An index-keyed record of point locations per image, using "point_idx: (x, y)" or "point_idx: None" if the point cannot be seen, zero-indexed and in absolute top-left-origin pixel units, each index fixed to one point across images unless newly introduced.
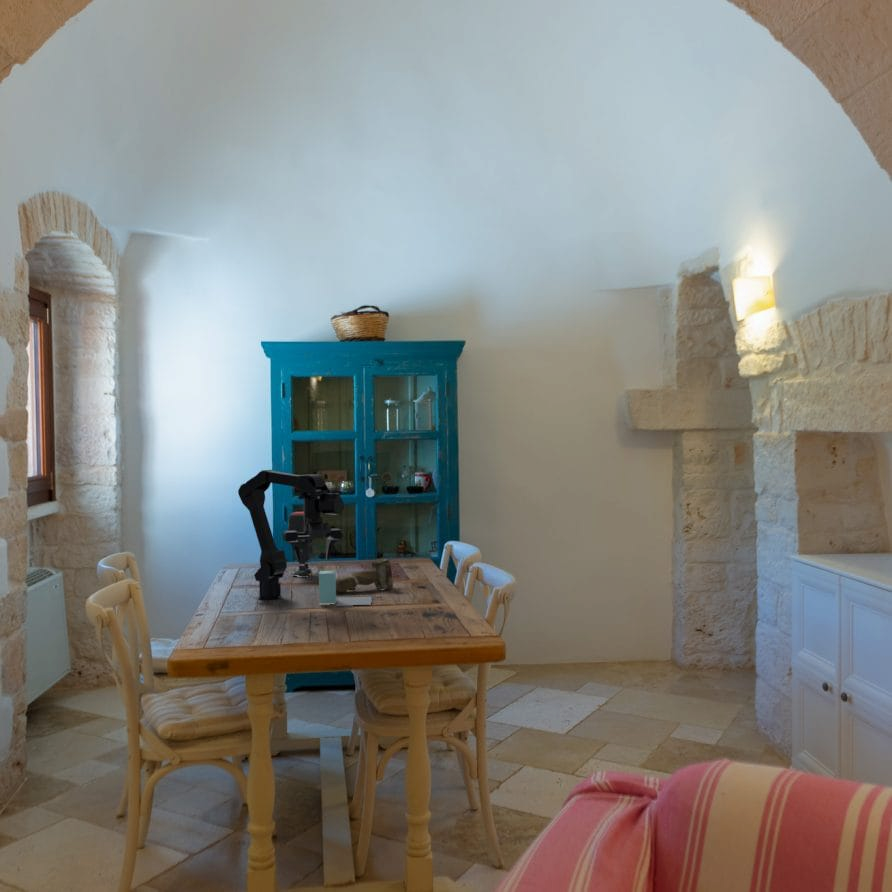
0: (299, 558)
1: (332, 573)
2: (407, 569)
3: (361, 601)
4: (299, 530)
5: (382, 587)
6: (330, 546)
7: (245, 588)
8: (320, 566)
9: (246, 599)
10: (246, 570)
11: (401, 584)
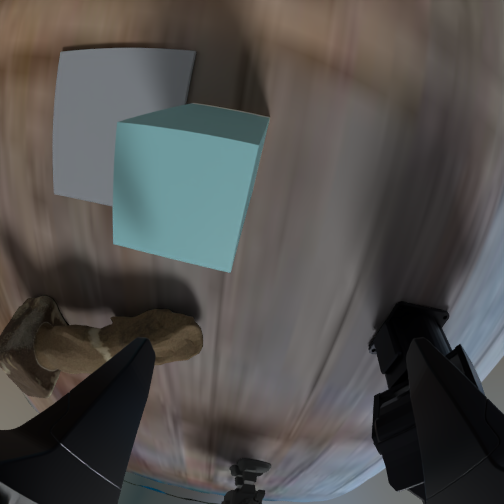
0: (432, 360)
1: (134, 124)
2: None
3: (84, 113)
4: None
5: (45, 301)
6: (49, 429)
7: None
8: (212, 482)
9: (465, 328)
10: (328, 489)
11: None
